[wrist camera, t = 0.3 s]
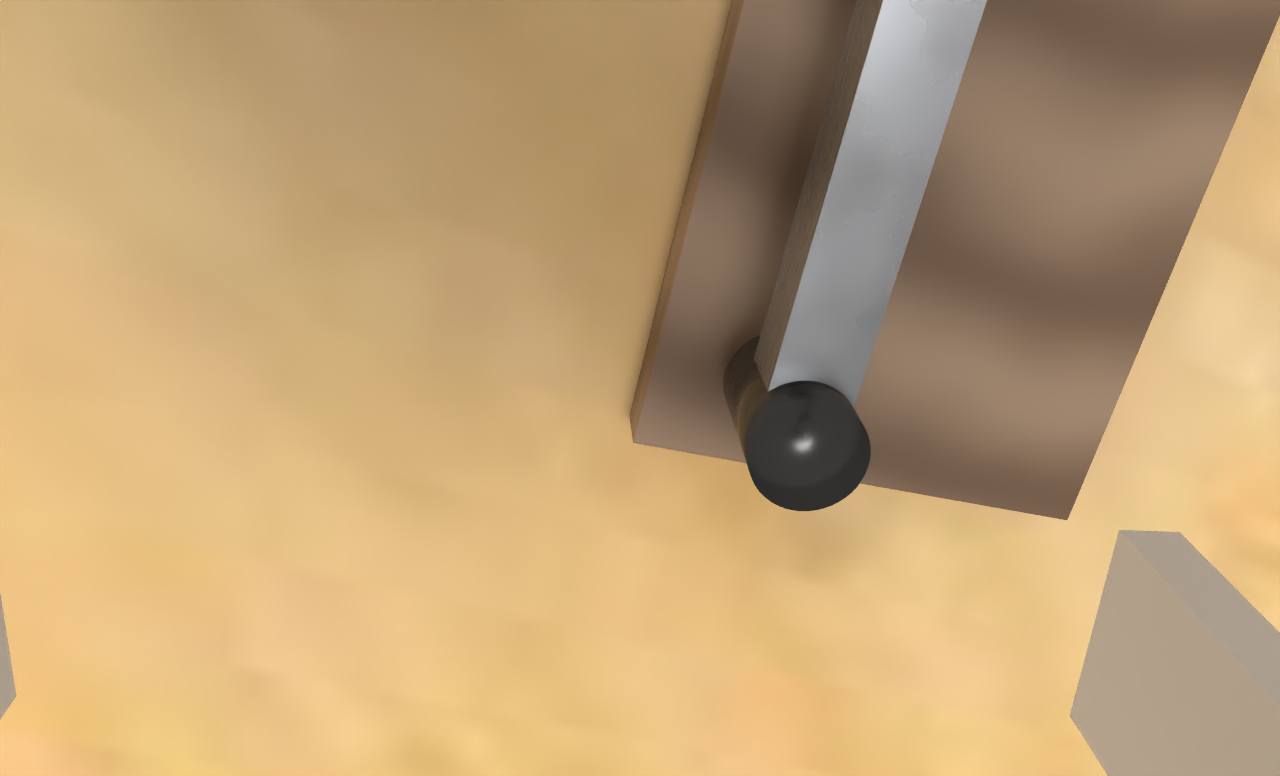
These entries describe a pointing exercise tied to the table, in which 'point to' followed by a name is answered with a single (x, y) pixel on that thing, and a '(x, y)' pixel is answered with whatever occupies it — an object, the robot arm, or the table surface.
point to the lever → (847, 249)
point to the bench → (965, 233)
